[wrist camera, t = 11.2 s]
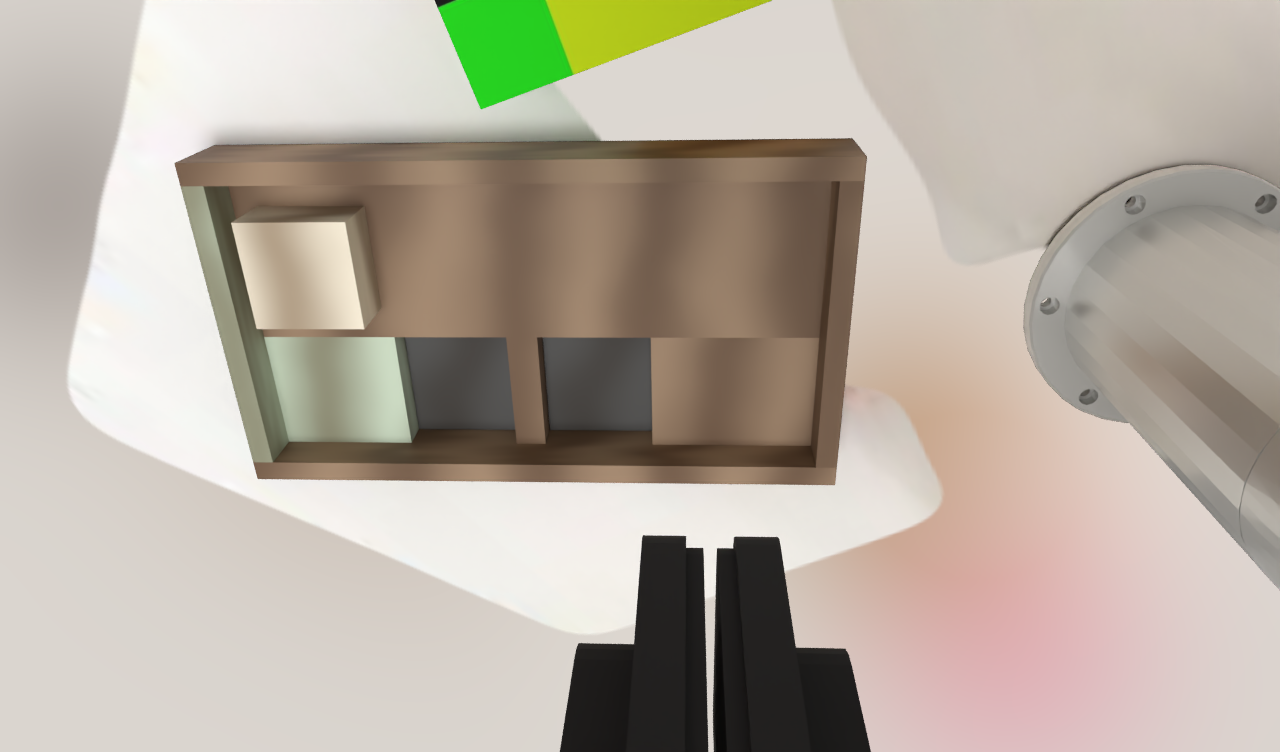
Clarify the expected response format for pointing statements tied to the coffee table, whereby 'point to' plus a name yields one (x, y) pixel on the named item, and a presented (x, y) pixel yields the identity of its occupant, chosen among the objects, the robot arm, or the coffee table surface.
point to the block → (308, 266)
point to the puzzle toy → (562, 36)
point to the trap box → (552, 310)
